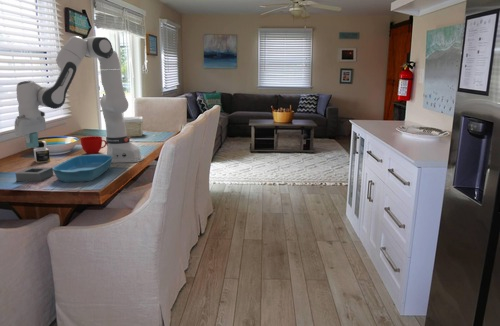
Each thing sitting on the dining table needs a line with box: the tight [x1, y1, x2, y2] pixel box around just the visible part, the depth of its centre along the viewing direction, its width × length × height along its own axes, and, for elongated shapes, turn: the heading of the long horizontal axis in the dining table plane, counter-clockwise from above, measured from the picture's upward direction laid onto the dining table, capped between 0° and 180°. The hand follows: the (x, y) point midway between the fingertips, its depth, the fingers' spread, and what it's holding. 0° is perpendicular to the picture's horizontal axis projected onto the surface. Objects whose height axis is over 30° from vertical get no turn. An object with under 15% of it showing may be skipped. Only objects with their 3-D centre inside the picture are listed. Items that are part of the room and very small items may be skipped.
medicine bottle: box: [33, 140, 51, 164], centre depth 239 cm, size 7×7×12 cm
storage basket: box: [123, 115, 144, 138], centre depth 326 cm, size 24×16×15 cm
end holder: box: [15, 166, 54, 182], centre depth 203 cm, size 12×12×4 cm
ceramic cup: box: [79, 136, 107, 155], centre depth 260 cm, size 13×17×10 cm
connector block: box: [25, 133, 39, 149], centre depth 203 cm, size 4×4×7 cm
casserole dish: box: [52, 153, 112, 183], centre depth 209 cm, size 37×22×7 cm, turn 179°
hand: (32, 141), depth 203 cm, fingers closed on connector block, 4 cm apart
